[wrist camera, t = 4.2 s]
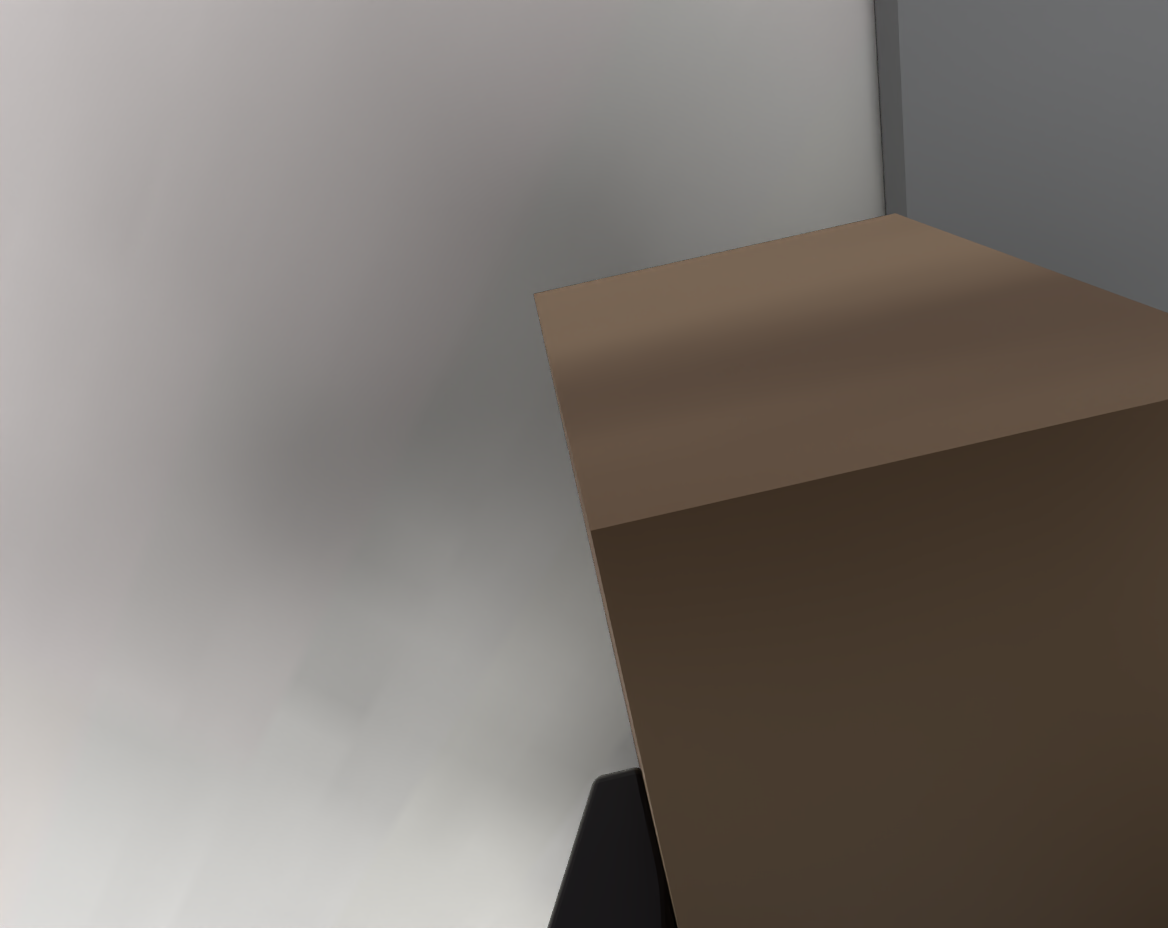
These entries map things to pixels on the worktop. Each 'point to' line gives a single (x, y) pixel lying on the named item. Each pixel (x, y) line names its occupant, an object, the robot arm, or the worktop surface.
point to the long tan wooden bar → (882, 577)
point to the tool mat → (1033, 131)
